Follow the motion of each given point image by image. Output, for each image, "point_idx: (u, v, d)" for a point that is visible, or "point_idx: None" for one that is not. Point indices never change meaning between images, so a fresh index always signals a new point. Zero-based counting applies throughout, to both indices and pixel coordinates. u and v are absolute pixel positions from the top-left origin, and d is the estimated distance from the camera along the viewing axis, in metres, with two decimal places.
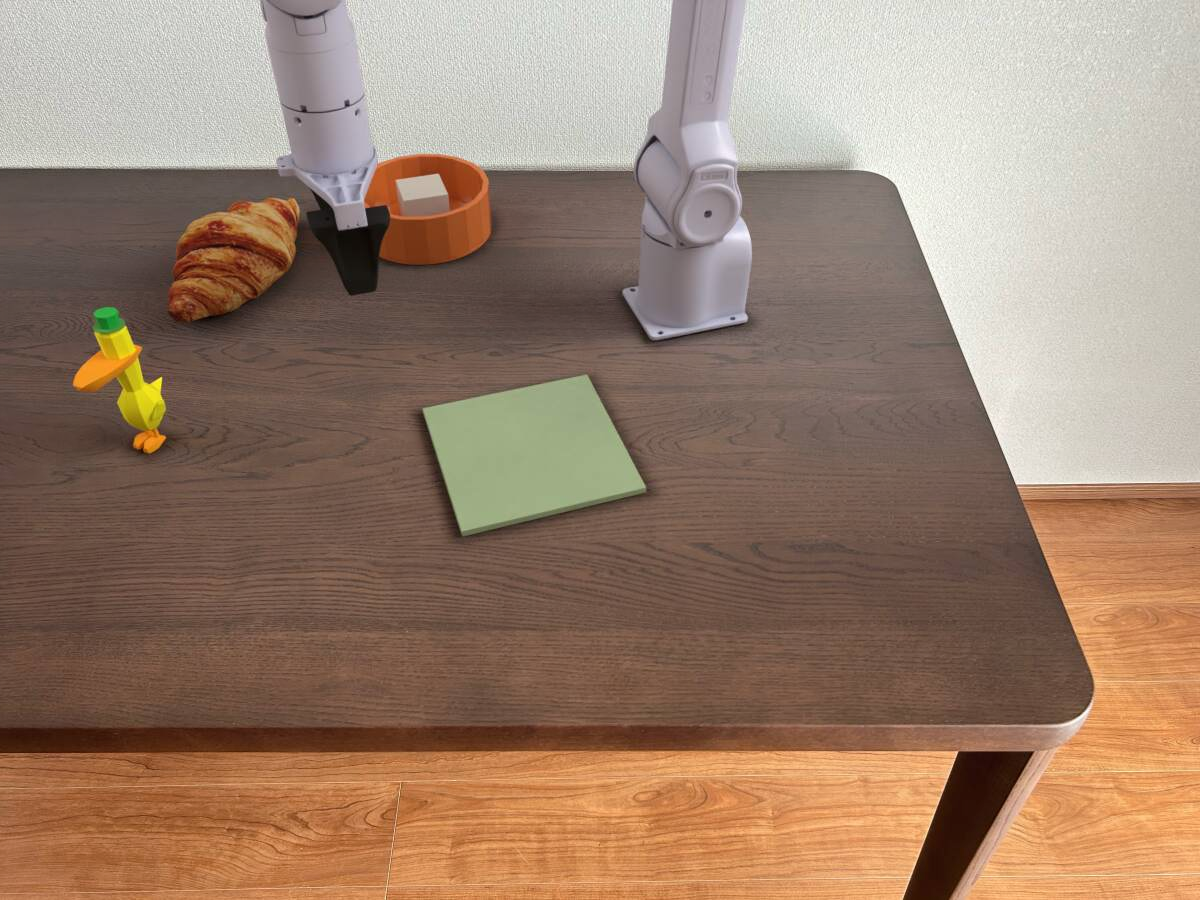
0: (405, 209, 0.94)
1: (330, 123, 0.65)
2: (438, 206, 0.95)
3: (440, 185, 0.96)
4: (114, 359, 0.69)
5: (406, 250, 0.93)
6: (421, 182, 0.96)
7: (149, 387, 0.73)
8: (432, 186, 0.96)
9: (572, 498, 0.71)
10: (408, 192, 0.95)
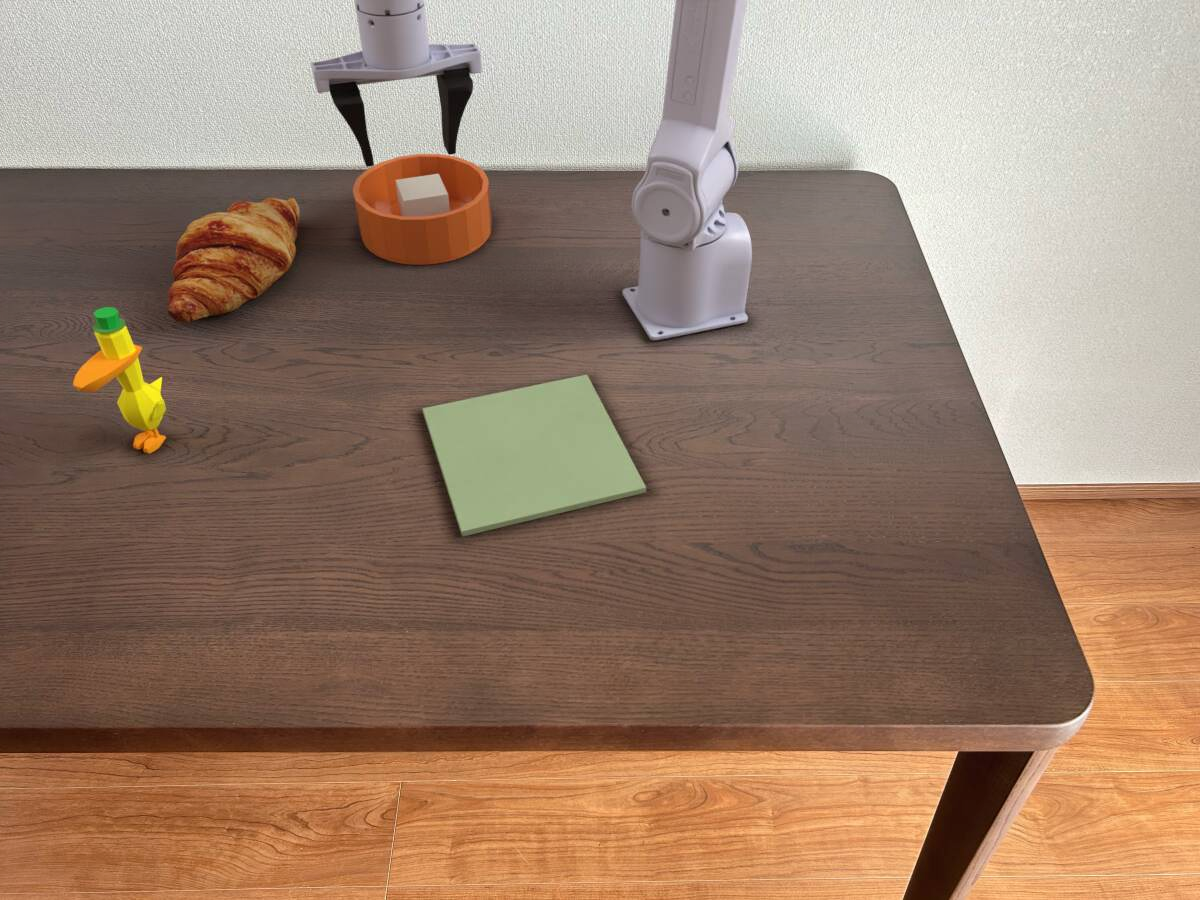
0: (405, 209, 0.94)
1: (357, 17, 0.81)
2: (438, 206, 0.95)
3: (440, 185, 0.96)
4: (114, 359, 0.69)
5: (406, 250, 0.93)
6: (421, 182, 0.96)
7: (149, 387, 0.73)
8: (432, 186, 0.96)
9: (572, 498, 0.71)
10: (408, 192, 0.95)
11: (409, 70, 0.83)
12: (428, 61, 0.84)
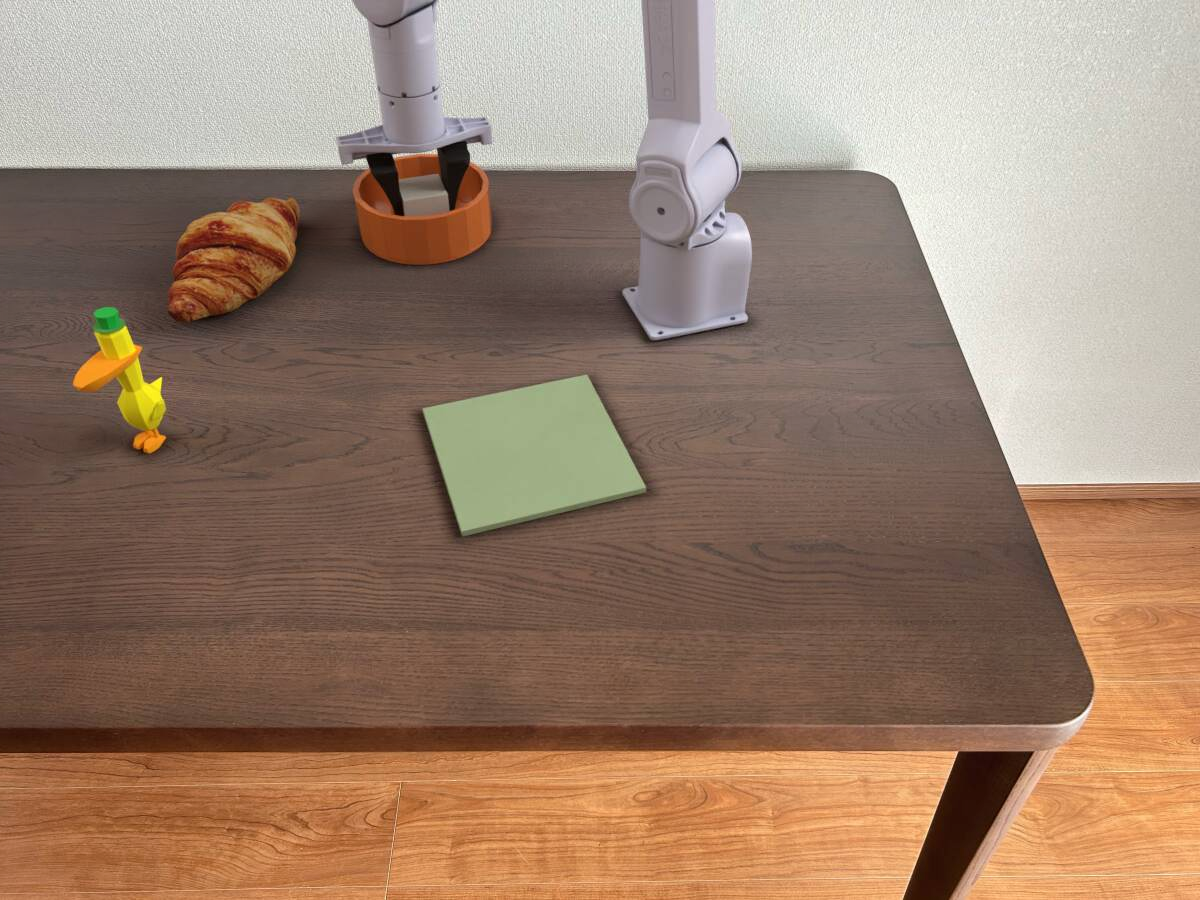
0: (405, 209, 0.94)
1: None
2: (438, 206, 0.95)
3: (439, 185, 0.96)
4: (114, 359, 0.69)
5: (406, 250, 0.93)
6: (421, 182, 0.96)
7: (149, 387, 0.73)
8: (432, 186, 0.96)
9: (572, 498, 0.71)
10: (408, 192, 0.95)
11: (426, 144, 0.90)
12: (443, 135, 0.91)
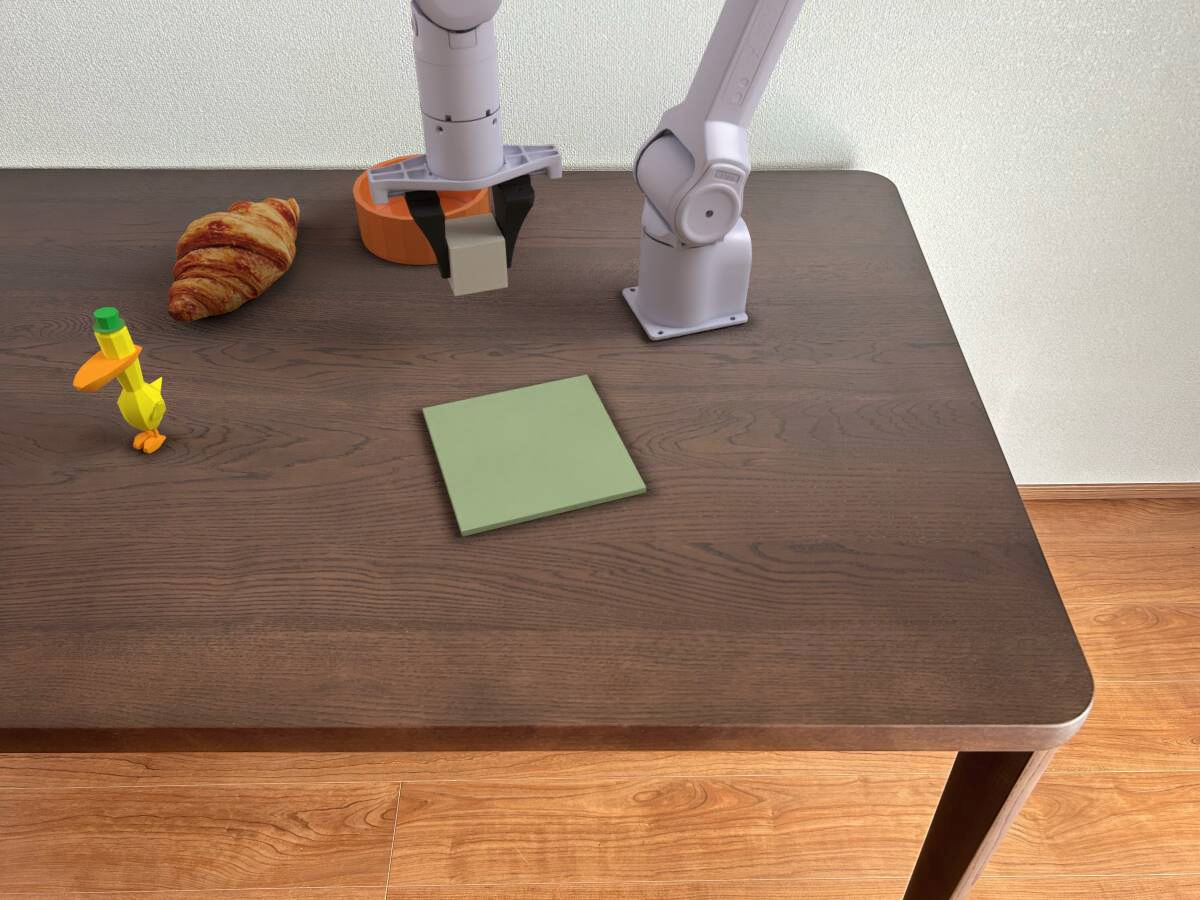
0: (451, 259, 0.75)
1: (422, 120, 0.69)
2: (493, 254, 0.76)
3: (494, 229, 0.77)
4: (114, 359, 0.69)
5: (406, 250, 0.93)
6: (470, 224, 0.77)
7: (149, 387, 0.73)
8: (485, 229, 0.77)
9: (572, 498, 0.71)
10: (455, 237, 0.76)
11: (481, 180, 0.71)
12: (502, 168, 0.72)
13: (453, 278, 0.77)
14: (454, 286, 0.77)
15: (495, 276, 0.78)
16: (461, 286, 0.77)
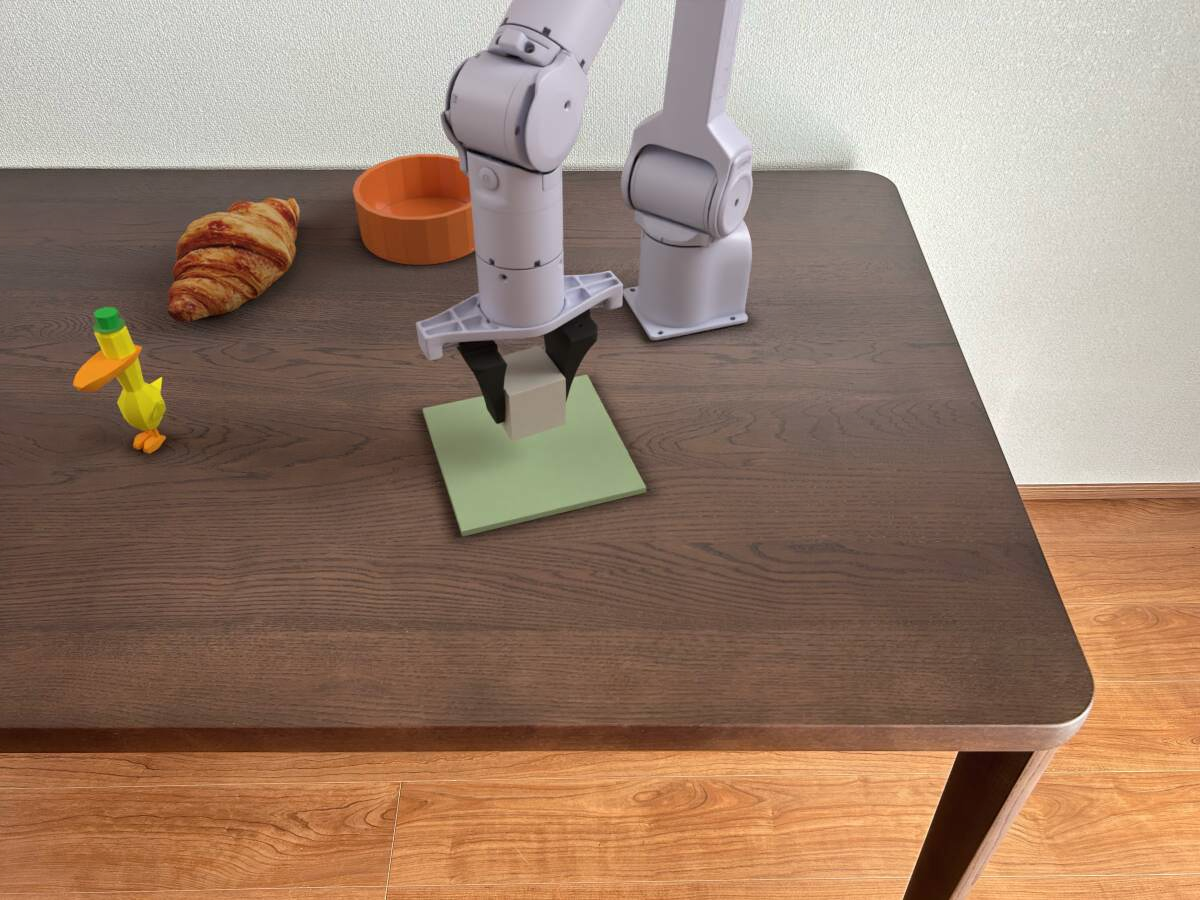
0: (510, 405, 0.68)
1: (479, 266, 0.62)
2: (552, 394, 0.69)
3: (549, 365, 0.70)
4: (114, 359, 0.69)
5: (406, 250, 0.93)
6: (522, 362, 0.70)
7: (149, 387, 0.73)
8: (540, 367, 0.70)
9: (572, 498, 0.71)
10: (510, 380, 0.69)
11: (547, 325, 0.64)
12: (565, 307, 0.65)
13: (511, 424, 0.69)
14: (512, 432, 0.70)
15: (554, 416, 0.71)
16: (519, 431, 0.70)
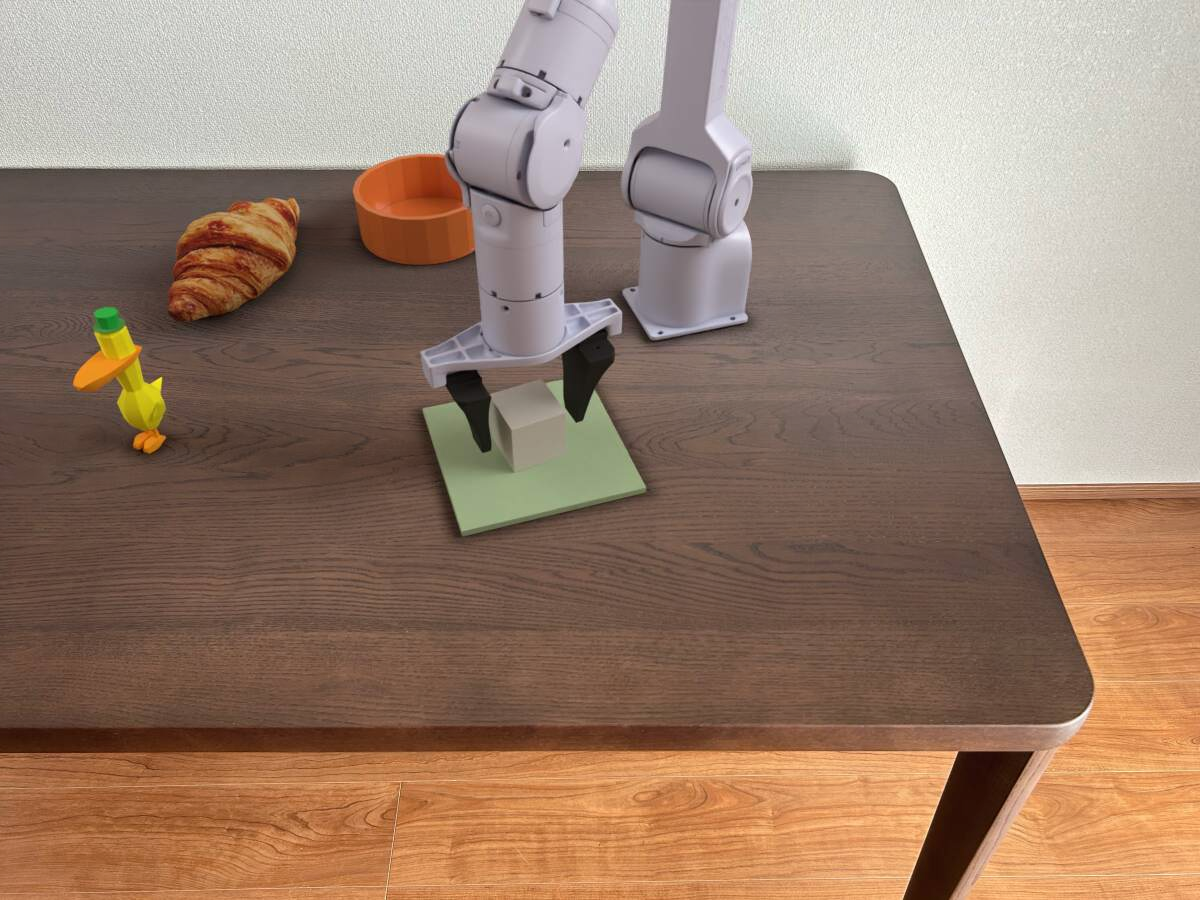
0: (512, 439, 0.70)
1: (481, 298, 0.64)
2: (553, 427, 0.72)
3: (550, 399, 0.72)
4: (114, 359, 0.69)
5: (406, 250, 0.93)
6: (524, 395, 0.73)
7: (149, 387, 0.73)
8: (541, 401, 0.72)
9: (572, 498, 0.71)
10: (513, 414, 0.71)
11: (548, 353, 0.66)
12: (566, 336, 0.67)
13: (513, 456, 0.72)
14: (514, 463, 0.72)
15: (555, 447, 0.73)
16: (521, 462, 0.72)
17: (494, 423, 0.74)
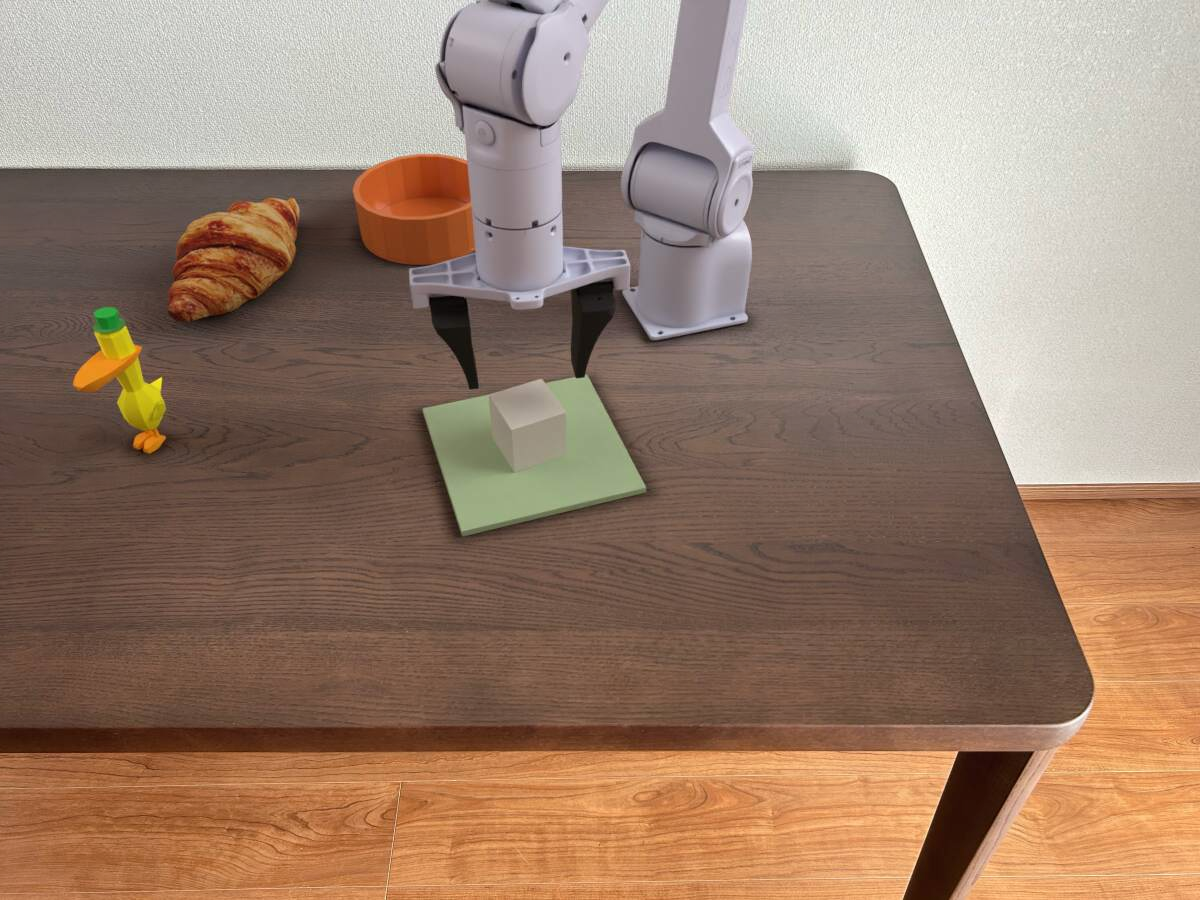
0: (512, 439, 0.70)
1: None
2: (553, 427, 0.72)
3: (550, 399, 0.72)
4: (114, 359, 0.69)
5: (406, 250, 0.93)
6: (524, 395, 0.73)
7: (149, 387, 0.73)
8: (541, 401, 0.72)
9: (572, 498, 0.71)
10: (513, 414, 0.71)
11: None
12: None
13: (513, 456, 0.72)
14: (514, 463, 0.72)
15: (555, 447, 0.73)
16: (521, 462, 0.72)
17: (494, 423, 0.74)
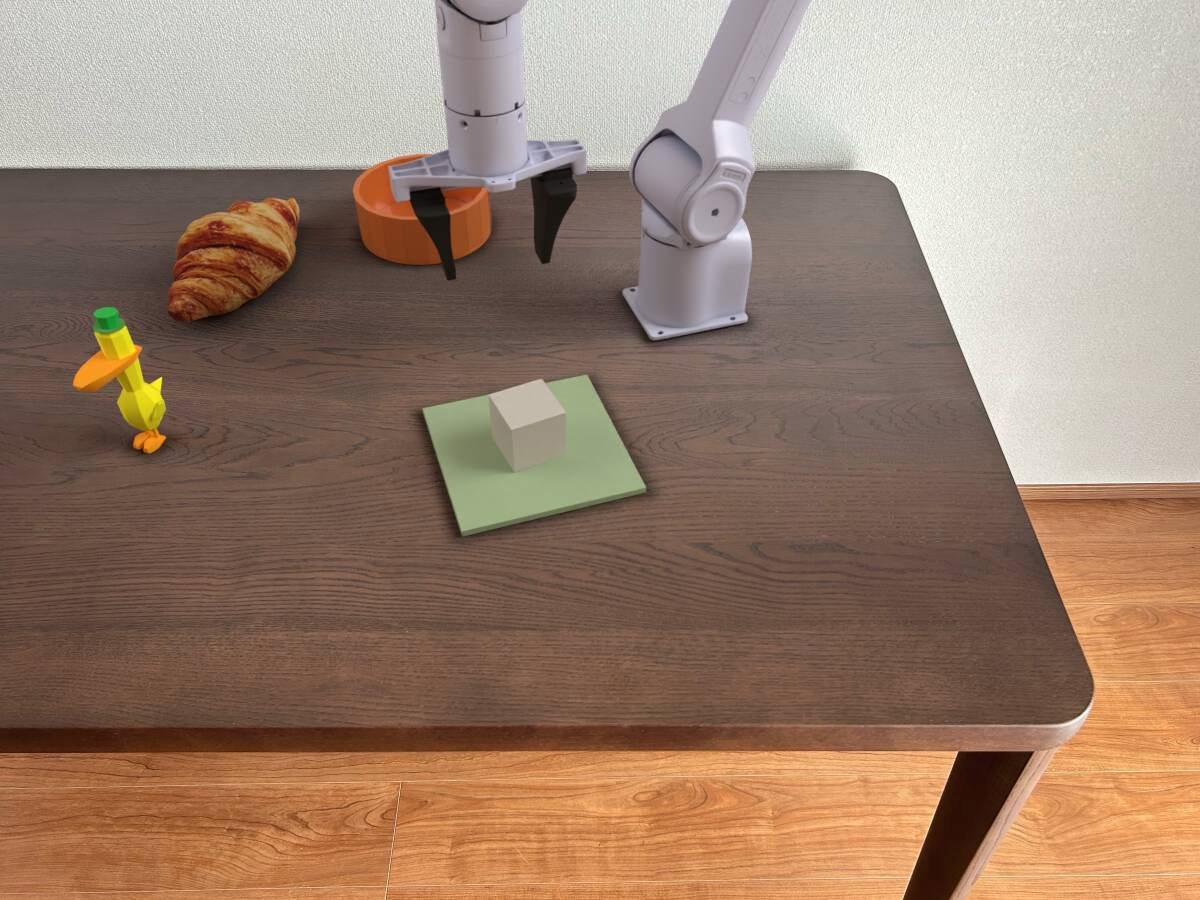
0: (512, 439, 0.70)
1: None
2: (553, 427, 0.72)
3: (550, 399, 0.72)
4: (114, 359, 0.69)
5: (406, 250, 0.93)
6: (524, 395, 0.73)
7: (149, 387, 0.73)
8: (541, 401, 0.72)
9: (572, 498, 0.71)
10: (513, 414, 0.71)
11: None
12: None
13: (513, 456, 0.72)
14: (514, 463, 0.72)
15: (555, 447, 0.73)
16: (521, 462, 0.72)
17: (494, 423, 0.74)
